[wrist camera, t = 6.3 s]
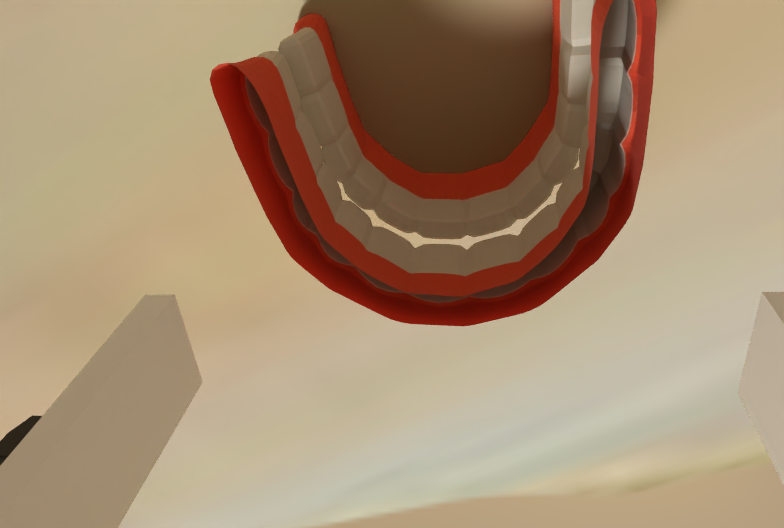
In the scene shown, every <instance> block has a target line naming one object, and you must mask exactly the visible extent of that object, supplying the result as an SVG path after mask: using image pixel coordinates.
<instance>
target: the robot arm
mask: <svg viewBox="0 0 784 528" xmlns="http://www.w3.org/2000/svg"><path fill="white" fill-rule="evenodd" d="M201 384H202V379H201V376H200V373H199V369H198V366H197V363H196V360H195V357H194V354H193V351H192V347H191V344H190V341H189V338H188V335H187V332H186V329H185V326H184V322H183V319H182V316H181V313H180V310H179V307H178V304H177V300H176V297H175V295H145V296H144V297H143V298H142V299H141V301H140V302H139V303H138V304H137V305H136V306H135V308H134V309H133V310H132V311H131V312H130V314H129V315H128V316H127V317H126V318H125V319H124V321H123V322H122V323H121V324H120V325H119V326H118V328H117V329H116V330H115V331H114V332H113V334H112V335H111V336H110V337H109V338H108V339H107V341H106V342H105V343H104V344H103V345H102V347H101V348H100V349H99V350H98V351H97V352H96V354H95V355H94V356H93V357H92V358H91V359H90V361H89V362H88V363H87V364H86V365H85V367H84V368H83V369H82V370H81V371H80V372H79V374H78V375H77V376H76V377H75V378H74V380H73V381H72V382H71V383H70V384H69V385H68V387H67V388H66V389H65V390H64V391H63V392H62V394H61V395H60V396H59V397H58V398H57V400H56V401H55V402H54V403H53V404H52V405H51V407H50V408H49V409H48V410H47V411H46V413H45V414H44V415H43V416H31V417H30V418H28V419H27V420H26V421H24V422H23V423H21V424H20V425H19V426H17V427H16V428H15V429H13V430H12V431H10V432H9V433H8V434H6V436H5V437H4V438H3V439H2V440H1V441H0V528H118V526H119V525H120V523H121V521H122V519H123V518H124V516H125V514H126V513H127V511H128V509H129V507H130V506H131V504H132V502H133V501H134V499H135V497H136V495H137V494H138V492H139V490H140V488H141V487H142V485H143V483H144V482H145V480H146V478H147V476H148V475H149V473H150V471H151V470H152V468H153V466H154V464H155V463H156V461H157V459H158V458H159V456H160V454H161V452H162V451H163V449H164V447H165V446H166V444H167V442H168V440H169V439H170V437H171V435H172V434H173V432H174V430H175V428H176V427H177V425H178V423H179V421H180V420H181V418H182V416H183V415H184V413H185V411H186V409H187V408H188V406H189V404H190V403H191V401H192V399H193V397H194V396H195V394H196V392H197V391H198V389H199V387H200V385H201ZM738 394H739V396H740V398H741V400H742V402H743V404H744V406H745V408H746V410H747V412H748V414H749V417H750V419H751V421H752V423H753V425H754V427H755V429H756V431H757V433H758V435H759V437H760V439H761V441H762V443H763V445H764V447H765V449H766V451H767V453H768V455H769V457H770V459H771V461H772V463H773V465H774V467H775V469H776V471H777V473H778V475H779V477H780V479H781V481H782V483H783V485H784V292H762V295H761V299H760V303H759V307H758V311H757V316H756V320H755V324H754V328H753V332H752V336H751V340H750V344H749V348H748V352H747V356H746V360H745V364H744V368H743V373H742V377H741V381H740V385H739V389H738Z"/></svg>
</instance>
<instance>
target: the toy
mask: <svg viewBox="0 0 784 528" xmlns="http://www.w3.org/2000/svg"><path fill="white" fill-rule="evenodd" d="M656 17H657V9H656V0H553V38H552V68H551V78H550V88H549V98H548V102H547V103H546V105H545V107H544V109H543V110H542V112H541V114H540V115H539V117H538V119H537V120H536V122H535V124H534V125H533V127H532V128H531V129H530V130H529V132H528V134H527V136H526V137H525V139H524V140H523V141H522V142H521V143H520V144H519V145H518V146H517V147H516V148H515V149H514V150H513V152H512V153H511V154H510V155H509V156H508V157H507V158H506V159H505V160H504V161H502V162H498V163H495V164H491V165H488V166H485V167H482V168H479V169H475V170H472V171H469V172H466V173H421V172H419V171H417V170H415V169H413V168H412V167H410V166H408V165H406V164H405V163H403V162H401V161H400V160H398V159H396V158H395V157H393V156H392V155H391V154H390V153H388V152H387V151H386V150H385V149H384V148H383V147H382V146H381V145H380V144H379V143H378V142H376V141H375V140H374V139H373V138H372V137H371V136H370V135H369V134H368V133H367V132H366V131H365V129H364V128H363V125H362V123H361V121H360V118H359V116H358V114H357V111H356V109H355V107H354V104H353V102H352V100H351V96H350V93H349V90H348V87H347V85H346V82H345V79H344V76H343V73H342V70H341V67H340V64H339V62H338V59H337V56H336V52H335V48H334V45H333V42H332V38H331V35H330V32H329V28H328V25H327V23H326V21H325V19H324V18H323V17H322V16H321V15H318V14H315V13H312V14H308V15H305V16H303V17H302V18H301V19H300V20H299V21H298V22H297V23H296V24H295V28H294V34H293V35H291V36H289V37H287V38H285V39H284V40H283V41H281V42H280V45H279V48H278V49H279V52H278V51H269V52H265V53H262V54H260V55H259V56H257V57H253V58H250V59H247V60H244V61H241V62H237V63H225V64H220V65H218V66H217V67H215V68H214V69H213V70H212V73H211V77H210V82H211V86H212V90H213V93H214V96H215V99H216V101H217V104H218V106H219V108H220V111H221V113H222V116H223V118H224V121H225V123H226V126H227V128H228V131H229V133H230V136H231V139H232V141H233V144H234V147H235V149H236V151H237V154H238V156H239V158H240V160H241V162H242V164H243V167H244V169H245V171H246V173H247V175H248V177H249V180H250V182H251V184H252V186H253V188H254V190H255V193H256V195H257V197H258V199H259V201H260V203H261V205H262V207H263V210H264V212H265V214H266V216H267V218H268V219H269V221H270V223H271V225H272V226H273V228H274V230H275V231H276V233H277V235H278V237H279V238H280V240H281V242H282V244H283V245H284V247H285V249H286V250H287V252H288V253H289V255H290V256H291V257H292V258H293V259H294V260H295V261H296V262H297V263H298V264H299V265H300V266H302V267H303V268H304V269H305V270H306V271H308V272H309V273H310V274H311V275H313V276H314V277H315V278H316V279H318V280H319V281H320V282H321V283H323V284H324V285H325V286H326V287H328V288H329V289H331V290H333V291H334V292H336V293H339V294H341V295H343V296H345V297H346V298H348V299H350V300H352V301H354V302H356V303H358V304H360V305H362V306H364V307H366V308H368V309H371V310H373V311H375V312H377V313H379V314H381V315H383V316H385V317H387V318H389V319H392V320H395V321H399V322H403V323H409V324H425V325H447V326H470V325H475V324H479V323H483V322H488V321H492V320H496V319H501V318H505V317H509V316H513V315H517V314H521V313H524V312H527V311H530V310H532V309H534V308H536V307H538V306H540V305H542V304H543V303H545V302H546V301H547V300H549V299H550V298H551V297H553V296H554V295H555V294H556V293H558V292H559V291H560V290H561V289H563V288H564V287H565V286H566V285H568V284H569V283H570V282H571V281H573V280H574V279H575V278H576V277H577V276H579V275H580V274H581V273H582V272H584V271H585V270H586V269H587V268H588V267H590V266H591V265H592V264H594V263H595V262H596V261H597V260H598V259H599V258H600V257H601V255H602V254H603V253H604V251H605V250H606V249H607V247H608V246H609V245H610V244H611V242H612V241H613V240H614V238H615V237H616V236H617V234H618V233H619V232H620V230H621V229H622V228H623V226H624V225H625V223H626V222H627V220H628V218H629V217H630V215H631V212H632V209H633V206H634V202H635V197H636V193H637V188H638V184H639V180H640V175H641V171H642V167H643V160H644V153H645V145H646V137H647V129H648V121H649V112H650V104H651V95H652V86H653V71H654V50H655V33H656ZM321 146H322V149H321ZM579 148H580V152H579ZM578 153H579V167H578V168H576V169H574V167H575V166H576V163H577V161H578ZM323 162H324V164H323ZM573 169H574V170H573ZM337 181H338V182H341V183H342V184H343V187H344V191H345V193H346V194H347V196H348V197H349V198H350V199H351V200H352V201H354V202H355V203H356V204H357V205H358V206H359V207H361V208H362V209H366V210H374V212H375V213H376V215H377V216H378V218H380V219H381V220H382V221H384V222H386V223H387V224H389V225H391V226H393V227H395V228H397V229H399V230H400V231H403V232H406V233H413V232H416V233H418V234H419V235H421V236H422V237H425V238H432V239H461V238H463V237H465V236H466V235H469V236H472V237H477V236H482V235H486V234H489V233H493V232H496V231H500V230H503V229H505V228H508V227H510V226H511V225H512V224H513V223H514V222H515V221H516V220H517V219H524V218H527V217H528V216H529V215H531V214H532V213H533V212H534V211H535V210H536V209H537V208H538V207H539V206H541V205H542V204H543V203H544V202H545V201H546V200H547V199H548V197H549V196H550V195H551V193H552V190H553V188H554V185H557V184H560V183H562V185H561V186H560V188H559V190H558V192H557V196H556V203H554V204H550V205H547V206H546V207H545V208H544V209H542V210H541V211H540V212H539V213H538V214H537V215H536V216H535V217H534V218H532V219H531V220H530V221H529V222H528V223H527V224H526V225H525V227H524V228H523V229H522V231H521V233H520V234H519V236H516V235H511V234H508V235H502V236H498V237H494V238H491V239H487V240H483V241H480V242H477V243H475V244H473V245H472V246H471V247H470V248H469V249H468V250H466V249H465V248H463V247H462V246H459V245H452V244H425V245H422V246H419V247H417V248H414V247H413V246H412V244H411V243H410V242H409V241H407V240H406V239H404V238H403V237H401V236H399V235H397V234H395V233H394V232H392V231H390V230H388V229H386V228H383V227H373V226H372V223H371V220H370V218H369V216H368V215H367V214H366V213H365V212H364V211H362V210H361V209H360V208H359V207H358V206H357V205H355V204H354V203H352V202H351V201H345V200H342V196H341V190H340V187H339V185H338V183H337Z"/></svg>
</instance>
